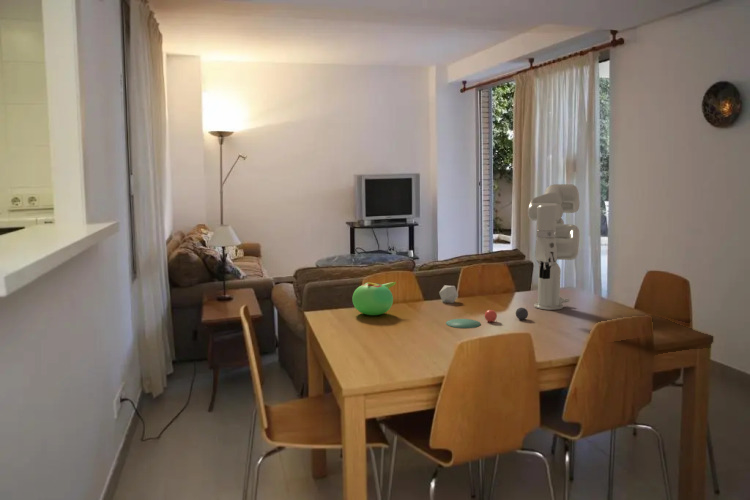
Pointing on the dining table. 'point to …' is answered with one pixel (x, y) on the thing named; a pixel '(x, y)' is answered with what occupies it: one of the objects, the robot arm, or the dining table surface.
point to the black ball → (521, 313)
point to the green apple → (373, 298)
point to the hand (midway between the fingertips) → (544, 277)
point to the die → (448, 294)
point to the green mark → (463, 323)
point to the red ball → (490, 315)
